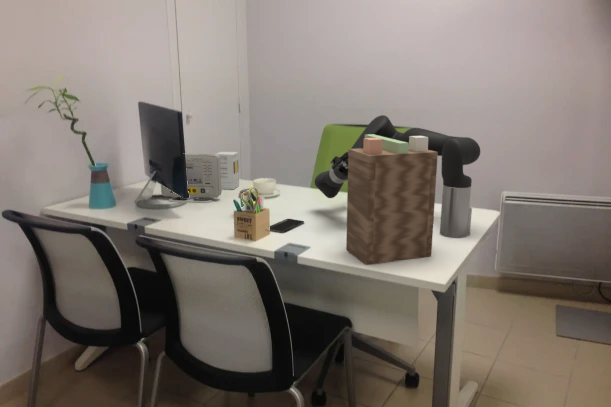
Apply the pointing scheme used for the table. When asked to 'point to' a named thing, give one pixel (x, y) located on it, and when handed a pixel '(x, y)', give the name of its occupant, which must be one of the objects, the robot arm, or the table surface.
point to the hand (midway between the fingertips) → (360, 153)
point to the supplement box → (229, 170)
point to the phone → (285, 225)
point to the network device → (200, 178)
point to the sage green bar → (392, 144)
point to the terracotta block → (372, 145)
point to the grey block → (418, 143)
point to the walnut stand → (390, 205)
